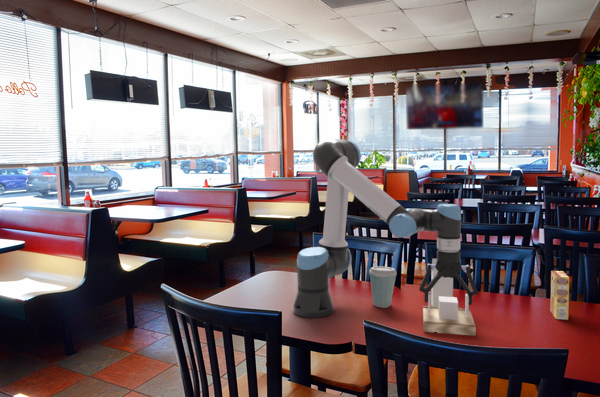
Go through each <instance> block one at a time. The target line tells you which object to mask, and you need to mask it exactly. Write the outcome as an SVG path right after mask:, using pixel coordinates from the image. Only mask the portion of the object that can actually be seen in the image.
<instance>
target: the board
mask: <svg viewBox="0 0 600 397" xmlns="http://www.w3.org/2000/svg"><path fill="white" fill-rule="evenodd" d="M422 322H423V332H425V333H434V332H437V334H448V335H461V336H475V337H476V332H477V331H476V326H477V325H476V323H475V321H474V318H473V315H472V312H471V309H470V308H468V315H466V314H465V308H463V307H458V320H448V319H439V314H438V307H433V306H432V305H430V313H428V305H422Z"/></svg>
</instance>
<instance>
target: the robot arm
mask: <svg viewBox="0 0 600 397" xmlns="http://www.w3.org/2000/svg"><path fill="white" fill-rule="evenodd" d="M312 158H313V162H314V164H315V166H316V167H317V168H318V170H319V171H321V173H323V174H324V175H325V177H326V178H327V181H326V182H327V183H326V184H327V186H326V198H325V209H324V210H325V211H324V218H323V219H324V221H323V223H324V224H323V232H322V234H323V235H322V237H321V239H319V241H318V246H311V247H307V248H303V249H301V250H300V251H299V252H298V254H297V257H296V266H297V268H296V269H297V272H296V273H297V292H296V296H295V299H294V303H293V313H294V314H295V315H297V316H298V317H302V318H308V319H310V318H311V319H312V318H313V319H317V318H318V319H319V318H324V317H328V316H330V315H332V314H333V313H334V303H333V300H332V297H331V294H330V289H329V284H330V283H329V279H331V278H334V277H336V276H340V275H341V274H343V273H344V272H346V271H347V270H348V269H349V267H350V266H351V263H352V253H351V251H350V250H349V248H348V247H349V244H348V242H347V241H346V237H345V236H346V229H347V228H346V226H347V216H348V205H349V204H348V203H349V193H350V194H352V195H353V196H354V197H356V199H358V201H360V202H361V203H363V205H364V206H366V207H367V208H368V209H370V211H371V212H373V213H375V215H377V216H378V218H380V219H381V220H383V221H384V223H386V224H387V225H388V226H389V227H388V229H389V231H390V232H391V234H392V235H393V236H395V237H396V238H400V239H401V238H403V239H404V238H408V237H411V236H413V235H414V234H417V233H420V232H434V233H435V232H436V249H437V251H436V259H437V263H436V265H434V264H432V263H429V262H428V263H427V265H426V271H425V273H424V276H423V277H422V280H421V283H420V285H419V288H418V289H419V292H420V293H421V292H422V293H424V302H425V303H427V306H428V313H430V306H431V289H432V288H433V286H434V285H435V284H436V283H437V281H438V280H439V279H440V278H441V277H444V278H447V277H450V278H453V279H454V278H455V279H456V280H457V282H459V284H460V285H461V287H462V288H463V289H464V291H465V292H466V293H465V298H464V299H465V301H464V302H465V304H464V306H465V308H464V309H465V314H466V315H468V309H470V308H469V306H472V305H473V296H474V295H478V294H479V291H478V290H477V287H476V284H475V282H474V279H473V276H472V274H471V266H470V265H469V264H466V265H462V264H461V251H460V250H461V229H462V228H461V227H462V213H461V212H462V211H461V206H460V205H458V204H454V203H441V204H438V205H437V208H436V209H426V208H416V207H413V208H405V207H403V206H402V205H401V204H400V203H399V202H398V201H396V200H395V198H393V197H392V196H390V195H389V193H387V192H386V191H384V190H382V188H380V187H379V186H378V185H377V184H376V183H374V182H373V181H372V180H370V179H369V178H368V177H367V176H366V175H365V174H363V173H362V172H361V171H360V170H358V169H357V166H359V164H360V162H361V159H362V154H361V150H360V148H359V146H358V145H357V144H356V143H355V142H354V141H352V140H348V139H344V138H343V139H342V138H341V139H338V138H337V139H336V138H335V139H333V138H326V139H323V140H321V141H320V142H318V143H317V144H316V145H315V147H314V150H313V153H312ZM434 268H436V269H437V271H438V273H437V274H436V276H435V277H434V278H433V279H432V281H430V282H429V283H428V284H427V282H428V280H429V277H430V275H431V273H432V271H433V269H434ZM461 270H463V272H464V273H465V274H466V277H467V279H468V282H469V283H470V286H471V288H472V290H471V289H470V288H469V286H468V285H467V284H466V282H465V281H464V280H463V278H462V277H461V275H460V274H459V273H460V272H461Z"/></svg>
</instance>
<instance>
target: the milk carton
mask: <svg viewBox="0 0 600 397" xmlns="http://www.w3.org/2000/svg"><path fill="white" fill-rule="evenodd" d="M436 263H437V258H432V260H431V264H434V265H436ZM437 273H438V271H437V269H436V268H434V269H433V271H431V273H430V275H431V281H432V279H433V278H434V277H435V276H436V274H437ZM431 281H430V282H431ZM430 294H431V304H430V306H433V307H438V298H439V296H444V297H454V277H453V278H450V277H447V278H444V277H441V278H440V279H439V280H438V281H437V283H436V284H435V285H434V286H433V288H432V289H431V290H430Z"/></svg>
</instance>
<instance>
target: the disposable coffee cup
mask: <svg viewBox="0 0 600 397" xmlns="http://www.w3.org/2000/svg"><path fill="white" fill-rule="evenodd" d="M368 274H369V280H370V288H371V289H370V290H371V298H372V303H373V305H374V306H375V307H377V308H382V309H385V308H390V306H391V304H392V300H393V294H394V293H393V292H394V288H395V282H396V277H397V275H398V274H397V270H396V268H393V267H391V266H390V267H389V266H372V267H370V269H369V270H368Z"/></svg>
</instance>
